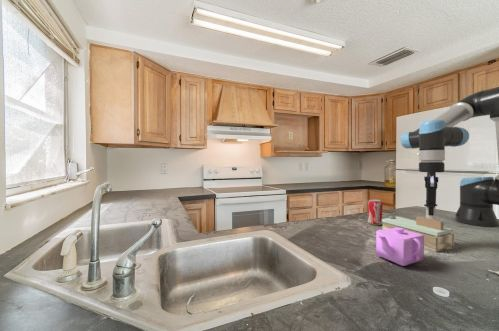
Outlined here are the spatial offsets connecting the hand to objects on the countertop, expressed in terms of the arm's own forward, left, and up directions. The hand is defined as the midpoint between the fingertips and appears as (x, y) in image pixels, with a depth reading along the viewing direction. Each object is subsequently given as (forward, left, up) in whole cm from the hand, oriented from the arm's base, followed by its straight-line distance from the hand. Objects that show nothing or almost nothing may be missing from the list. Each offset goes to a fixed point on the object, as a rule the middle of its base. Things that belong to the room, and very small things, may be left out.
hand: (430, 223), depth 84 cm
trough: (+3, -4, -8) cm, 9 cm away
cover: (+2, -4, -2) cm, 5 cm away
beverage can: (-2, -26, -8) cm, 27 cm away
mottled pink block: (+26, +5, -8) cm, 28 cm away
